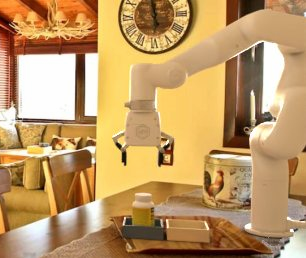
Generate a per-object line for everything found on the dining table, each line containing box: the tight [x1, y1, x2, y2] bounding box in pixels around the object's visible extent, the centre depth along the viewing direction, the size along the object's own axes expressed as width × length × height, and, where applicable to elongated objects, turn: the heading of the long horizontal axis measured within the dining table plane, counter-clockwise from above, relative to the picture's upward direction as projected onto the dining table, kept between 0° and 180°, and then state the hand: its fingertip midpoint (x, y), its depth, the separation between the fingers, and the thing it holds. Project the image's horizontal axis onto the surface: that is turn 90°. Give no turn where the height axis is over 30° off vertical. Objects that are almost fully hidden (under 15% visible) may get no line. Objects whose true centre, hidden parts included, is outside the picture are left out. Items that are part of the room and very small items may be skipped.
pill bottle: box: [131, 192, 155, 227], centre depth 147 cm, size 6×6×11 cm
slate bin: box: [122, 216, 164, 241], centre depth 147 cm, size 11×10×4 cm
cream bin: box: [165, 218, 211, 244], centre depth 144 cm, size 11×10×4 cm
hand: (142, 165), depth 149 cm, fingers open, 9 cm apart
